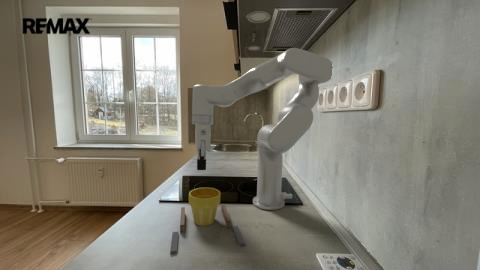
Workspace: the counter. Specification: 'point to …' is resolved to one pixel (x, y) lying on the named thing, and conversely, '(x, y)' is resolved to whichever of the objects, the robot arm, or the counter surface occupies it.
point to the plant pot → (204, 205)
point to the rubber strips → (175, 239)
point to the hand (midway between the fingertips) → (201, 169)
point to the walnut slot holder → (224, 212)
